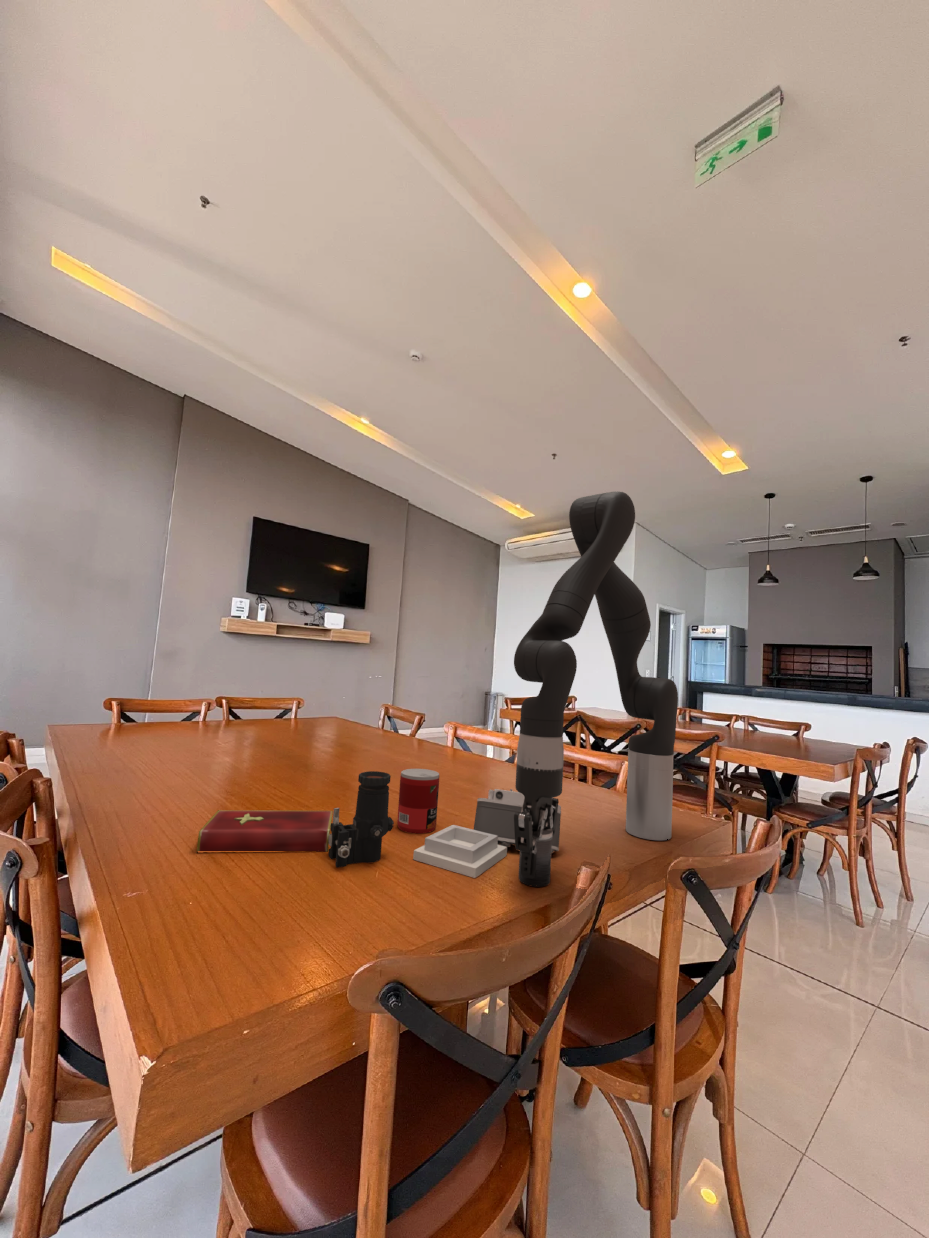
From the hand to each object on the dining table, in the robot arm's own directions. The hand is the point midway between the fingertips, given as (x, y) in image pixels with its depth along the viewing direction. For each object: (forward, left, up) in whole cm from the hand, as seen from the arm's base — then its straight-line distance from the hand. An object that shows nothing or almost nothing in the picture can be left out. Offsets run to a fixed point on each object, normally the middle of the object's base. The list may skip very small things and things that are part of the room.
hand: (534, 870), depth 81 cm
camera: (-13, -9, -2) cm, 16 cm away
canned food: (-9, -29, -2) cm, 30 cm away
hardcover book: (+14, -45, -2) cm, 47 cm away
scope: (+10, -27, -2) cm, 29 cm away
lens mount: (-1, -14, -2) cm, 14 cm away
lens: (0, 0, -1) cm, 1 cm away
